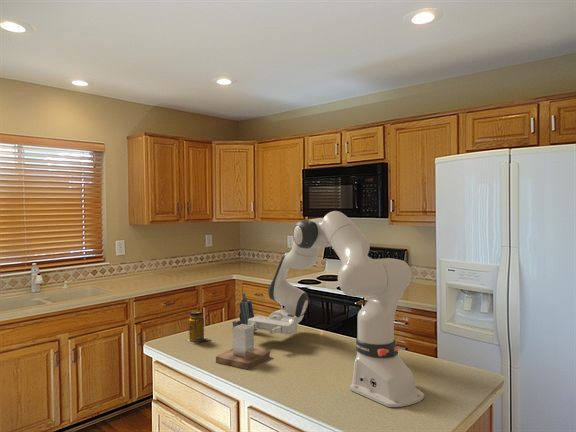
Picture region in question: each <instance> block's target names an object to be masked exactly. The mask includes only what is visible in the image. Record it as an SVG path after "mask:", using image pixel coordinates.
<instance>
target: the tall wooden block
mask: <svg viewBox="0 0 576 432" xmlns="http://www.w3.org/2000/svg"><path fill="white" fill-rule="evenodd" d="M254 332H255V331H254V326H252V325H246V324H240V325H238V326H235V327H233V326H232V349H233V355H236V356H240V357H247V356H249V355H251V354H253V353H254V348H255V347H254V346H255V344H254V343H255V342H254V341H255V339H254V338H255V336H254Z"/></svg>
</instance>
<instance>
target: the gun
mask: <svg viewBox="0 0 576 432" xmlns="http://www.w3.org/2000/svg"><path fill="white" fill-rule="evenodd" d="M239 310H240V312H239V320H237V321H236V320H235V321H232V328H233V327H235V326H238V325H240V324H246V325H248V319H250V318H253V317H255V314H254V308H253V301H252V300H248V298H247V296H246V293H242V301H241V302H239ZM255 331H258V329H255V330H254V332H255Z"/></svg>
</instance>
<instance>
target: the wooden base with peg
mask: <svg viewBox="0 0 576 432" xmlns="http://www.w3.org/2000/svg"><path fill="white" fill-rule="evenodd" d="M270 354H271V351H269V350H264V349H260V348H255V347H254V353H253V354H251V355H249V356H247V357H240V356H236V355H233V348H231V349H229V350H227V351H225V352H223V353H221V354H218V355H216V356H215V363H218V364H223V365H227V366H231V367H235V368H241V369H245V370H249V369H252V368H253V367H256V366H257V365H258V364H260V363H261V362H263V361H265V360H267V359H268V358H271V355H270Z"/></svg>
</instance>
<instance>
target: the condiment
mask: <svg viewBox="0 0 576 432" xmlns="http://www.w3.org/2000/svg"><path fill="white" fill-rule="evenodd" d="M188 336H189V337H188V339H186V341H187V342H189V343H190V344H192V345H194V344H199V343H200V344H201V343H203V342H208V341H212V339H210V338H208V337H207V336H205V319H204V313H203V311H201V310H193V311H190V313H189V320H188Z"/></svg>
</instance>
